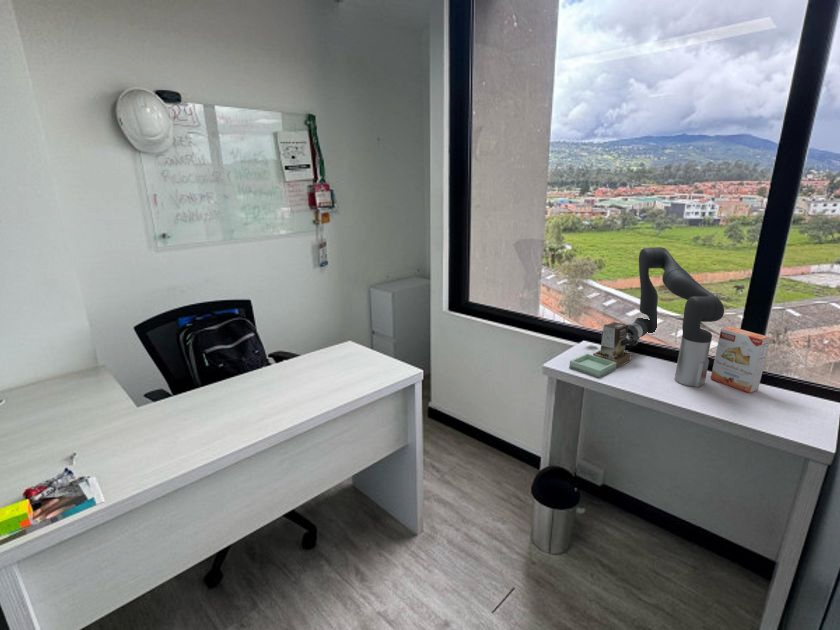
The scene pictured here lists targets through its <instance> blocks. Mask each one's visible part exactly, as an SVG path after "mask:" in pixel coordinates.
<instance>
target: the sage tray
mask: <svg viewBox="0 0 840 630" xmlns="http://www.w3.org/2000/svg"><path fill="white" fill-rule="evenodd" d="M616 363H617V362H613V361H610V360H607V359H604V358H600V357H597V356H594V355H593V354H590V353H584V354H583V355H582V354H581V355H580V356H578V357H576V358H574V359H571V360H569V367H568V368H569V369H572V370H575V371H577V372H581V373H584V374H587V375H590V376H592V377H596V378H599V379H601V378H602V377H604V376H606V375H607V374H609V373H612V372H613V371H615V370H616V369H617V368H616Z"/></svg>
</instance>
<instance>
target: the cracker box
mask: <svg viewBox="0 0 840 630" xmlns="http://www.w3.org/2000/svg"><path fill="white" fill-rule="evenodd" d="M771 339H772V338H771V336H768V335H763V334H761V333H756V332H752V331H748V330H745V329H741V328H737V327H733V326H726V327H722V328H720V333H719V338H718V342H717V347H716V352H715V355H714V356H715V357H714V360H713V364H712V365H713V366H712V370H711V375H710V380H713V381H716V382H718V383H721V384H724V385H727V386H730V387H732V388H735V389H737V390H740V391H742V392H745V393H748V394H752V393H754V392H756V391H758V390H759V388H760V383H761V380H762V376H763V372H764V368H765V363H766V358H767V355H768V350H769V346H770V342H771Z"/></svg>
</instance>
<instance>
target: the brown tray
mask: <svg viewBox="0 0 840 630" xmlns="http://www.w3.org/2000/svg"><path fill="white" fill-rule="evenodd" d="M592 355H594V356H597V357H600V358H604V359H607V360H610V361H613V362H617V363H616V369H617V368H620V367H621V366H622V364H623V365H625V364H626V362H627V363H628V361H629V362H631V357H632V353H631V352H628V351H624V355H623V356H621V357H619V358H617V359H612V358H608V357H605V356H602V355H600V350H598V351H596V352H594V353H592ZM624 363H625V364H624Z"/></svg>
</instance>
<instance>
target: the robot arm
mask: <svg viewBox="0 0 840 630" xmlns="http://www.w3.org/2000/svg"><path fill="white" fill-rule="evenodd" d="M651 269H661V270H663V271H664V272H663V274H662V276H661V277H662V278H661V279H662V283H663V284H664V287H666V288H667V289H668V290H669V292H670V293H672V294H673V295H675V296H677V297H679V298H681V299H684V300H686V302H685V305H684V309H683V319H682V330H681V331H682V334H681V335H682V336H681V341H680V347H679V352H678V357H677V363H676V367H675V373H674V380H675V381H676V382H677V383H678V384H681V385H685V386H687V387H696V388H700V387H701V386H703V385H704V384H705V383H706V378H707V372H708V368H709V363H710V360H709V358H708V357H709V354H710V350H711V349H710V348H711V343H712V338H713V335H712V333H711V332H710V331H708V330H706V329H705V328H701V323H711V322H712V323H713V322H718V321H720V320H721V319H723V317H724V314H725V307H724V305H723V303H722V301H721V300H720V299H719V298H718V297H717V296H716V295H715V294H714V293H712V292H710V291H709V290H707V289H706V288H705V287H703V285H701V284H700V282H698V281H697V280H695V279H694V278H693V276H691V275H690V273H688V272H687V271H686V270H685V269H684V267H682V265H680V264H679V263H678V262H677V261H676V260H675V258H674V257H673V256H672V254H671V253H670V252H669V250H668V249H667V248H665V247H663V246H662V247H661V246H656V247H644V248H642V249H641V250H640V251H639V254H638V273H639V274H638V275H639V284H640V285H639V286H640V300H639V312H640V313H641V314H642V315H643V314H644V315H646V316H647V318H649V319H650V320H648V319H643V318H639V317H637V318H636V319H635V320H634V322H632V323H628V324H627V325H628V331H627V336H626V339H624V340H622V341H621V346H624V345H625V346H629V345H631V346H636V345H638V344H639V343H640V338H642V337H643V336H645V335H647V332H648V333H653V332H655V330H656V328H657V313H658V301H659V299H658V297H659V295H658V292H657V289H656V288H655V286H654V285H653V282H652V280H651V278H650V272H649V271H650V270H651ZM602 335H603V330H602V331H601V335H600V341H602Z"/></svg>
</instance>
